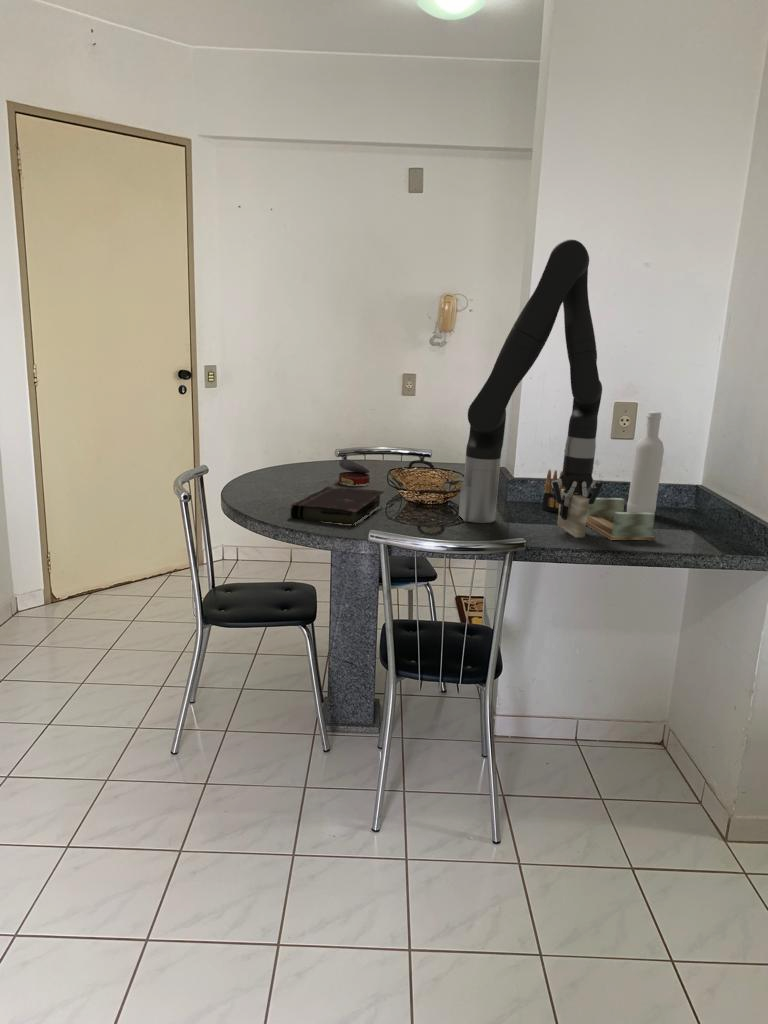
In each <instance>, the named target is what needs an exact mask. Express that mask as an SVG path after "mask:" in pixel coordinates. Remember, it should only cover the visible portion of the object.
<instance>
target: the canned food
mask: <svg viewBox="0 0 768 1024" xmlns="http://www.w3.org/2000/svg"><path fill="white" fill-rule="evenodd" d="M338 466H339V467H340V468H341V469H343V470H344V472H343V471H342V472H339V473H338V483H339V482H341V483H345V484H353V485H356V484H358V485H359V484H366V483H369V484H370V480H371V479H370V476H371V475H370V474H369V473H370V472H371V471H370V470H369V469H367V468H366V467H364V466H363V465H361V464H359V463H358V462H356V461H353V460H351V459H348V458H347V459H345V458H344V459H343V458H342V459H340V461H339V464H338ZM345 470H346V471H345Z"/></svg>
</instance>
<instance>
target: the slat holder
mask: <svg viewBox="0 0 768 1024" xmlns="http://www.w3.org/2000/svg"><path fill="white" fill-rule="evenodd" d="M625 503H626V501H625V499H624V498H622V497H596V499H595V502H594V503H593V504H589V506H588V514H587V522H586V525H587V526H586V527H588V528H590V529H591V528H592V529H591V530H593V531H594V530H595V531H594V532H596V531H597V532H596V533H598V532H599V533H600V534H599V533H598V534H599V535H601V534H602V535H604V536H605V537H604V536H603V537H604V538H606V537H607V538H608V539H607V538H606V539H607V540H609V539H610V540H609V541H611V540H655V541H656V537H655V536H654V535H653V530H654V523H655V516H656V514H653V513H651V512H627V511H624V509H625ZM602 535H601V536H602Z"/></svg>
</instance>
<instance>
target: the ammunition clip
mask: <svg viewBox="0 0 768 1024" xmlns="http://www.w3.org/2000/svg"><path fill="white" fill-rule="evenodd" d="M562 474H563V470H561V471H560V474H559V476H558V471H557V469H555V471H554V472H553V475H552V471H551V469H550V468H549V470H548V471H547V475H546V481H545V485H544V493H543V499H542V505H541V510H542V511H549V512H554V513H559V503H557V502H555V501H554V498H553V493H552V489H551V485H550V481H551V480H554V481H555V480H558V479H560V478H561V476H562ZM561 489H564V486H563V485H562V483H561V487H560V488H559V490H560V494H561Z"/></svg>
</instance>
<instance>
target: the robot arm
mask: <svg viewBox="0 0 768 1024" xmlns="http://www.w3.org/2000/svg"><path fill="white" fill-rule="evenodd" d="M589 264H590V256H589V252H588V250H587V248H586V247H585V245H584V244H583V243H582V242H580V241H579V240H576V239H566V240H562V241H560V242H559V243H558V244H557V245H555V246H554V248H553V249H552V250H551V252H550V255H549V258H548V260H547V262H546V265H545V266H544V267H545V268H544V269H543V272H542V274H541V277H540V279H539V281H538V283H537V286H536V288H535V289H534V291H533V293H532V294H531V296H530V297H529V299H528V301H527V302H526V303H525V305H524V307H523V308H522V311H521V312H520V313H519V315H518V317H517V319H516V320H515V322H514V324H513V325H512V327H511V329H510V331H509V333H508V335H507V336H506V338H505V341H504V343H503V345H502V347H501V349H500V351H499V354H498V355H497V358H496V361H495V363H494V365H493V368H492V369H491V373H490V375H489V377H488V378H487V380H486V381H485V382H484V385H483V386H482V388H481V389H480V391H479V392H478V393H477V395H476V396H475V398H474V399H473V401H472V402H471V404H470V405H469V406H468V409H467V421H468V423H469V425H470V426H469V435H468V441H467V443H466V448H465V449H466V451H465V462H464V474H463V475H464V476H463V481H462V482H461V483H460V496H459V505H458V506H459V508H458V517H459V516H460V517H461V518H462V519H463V520H462V519H461V518H460V517H459V518H460V519H461V520H462V521H463V522H466V523H467V522H469V523H475V524H476V523H477V524H490V523H494V522H495V521H496V514H497V513H496V511H497V501H498V492H499V491H498V490H499V479H500V471H501V459H502V451H503V447H504V446H503V445H504V439H505V438H504V437H505V429H506V421H507V420H506V419H507V407H508V404H509V402H510V400H511V398H512V396H513V394H514V391H515V390H516V388H517V387H518V386H519V384H520V383H521V382H522V380H523V379H524V378H525V377H526V375H527V374H528V372H529V371H530V369H531V368H533V367H532V366H533V365H534V364H535V362H536V360H538V358H539V356H540V354H541V352H542V351H543V348H544V347H545V346H546V343H547V341H548V339H549V337H550V335H551V333H552V329H553V327H554V326H555V324H556V323H555V322H556V320H557V317H558V314H559V311H560V309H561V307H562V306H563V318H564V319H563V321H564V322H563V323H564V335H565V337H564V338H565V344H566V352H567V358H568V362H569V372H570V373H569V376H570V377H569V378H570V379H569V380H570V388H571V394H572V397H573V399H572V400H573V401H572V409H571V410H572V411H571V415H570V417H569V421H568V429H567V437H566V442H565V447H564V454H563V463H562V471H563V474H562V476H561V478H560V479H559V478H557V480H555V481H554V480H553V479H551V481H550V485H551V489H552V493H553V498H554V501H555V502H557V503H559V504H560V505H561V507H560V517H561V518H562V519H563V520H567V515H568V504H569V501H570V498H572V495H573V494H575V493H578V494H580V495H582V496H584V497H585V498H587V499H589V504H593V503H594V502H595V499H596V498H598V495H599V493H600V491H601V489H602V486H603V484H602V482H600V481H597V480H594V479H593V473H594V472H593V471H594V465H595V455H596V448H597V446H596V445H597V444H596V443H597V442H596V441H597V439H596V438H597V432H598V431H597V430H598V415H599V411H600V405H601V401H602V394H603V385H602V381H601V380H600V375H599V370H598V364H597V363H598V362H597V361H598V351H597V350H598V349H597V343H596V335H595V331H594V324H593V320H592V314H591V309H590V302H589V289H588V284H589V283H588V281H589V280H588V278H589V277H588V276H589V267H590V265H589ZM561 483H562V485H563V487H564V490H563V493H562V498H561V494H560V490H559V488H560V487H561ZM589 487H590V490H589V492H588V488H589Z"/></svg>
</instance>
